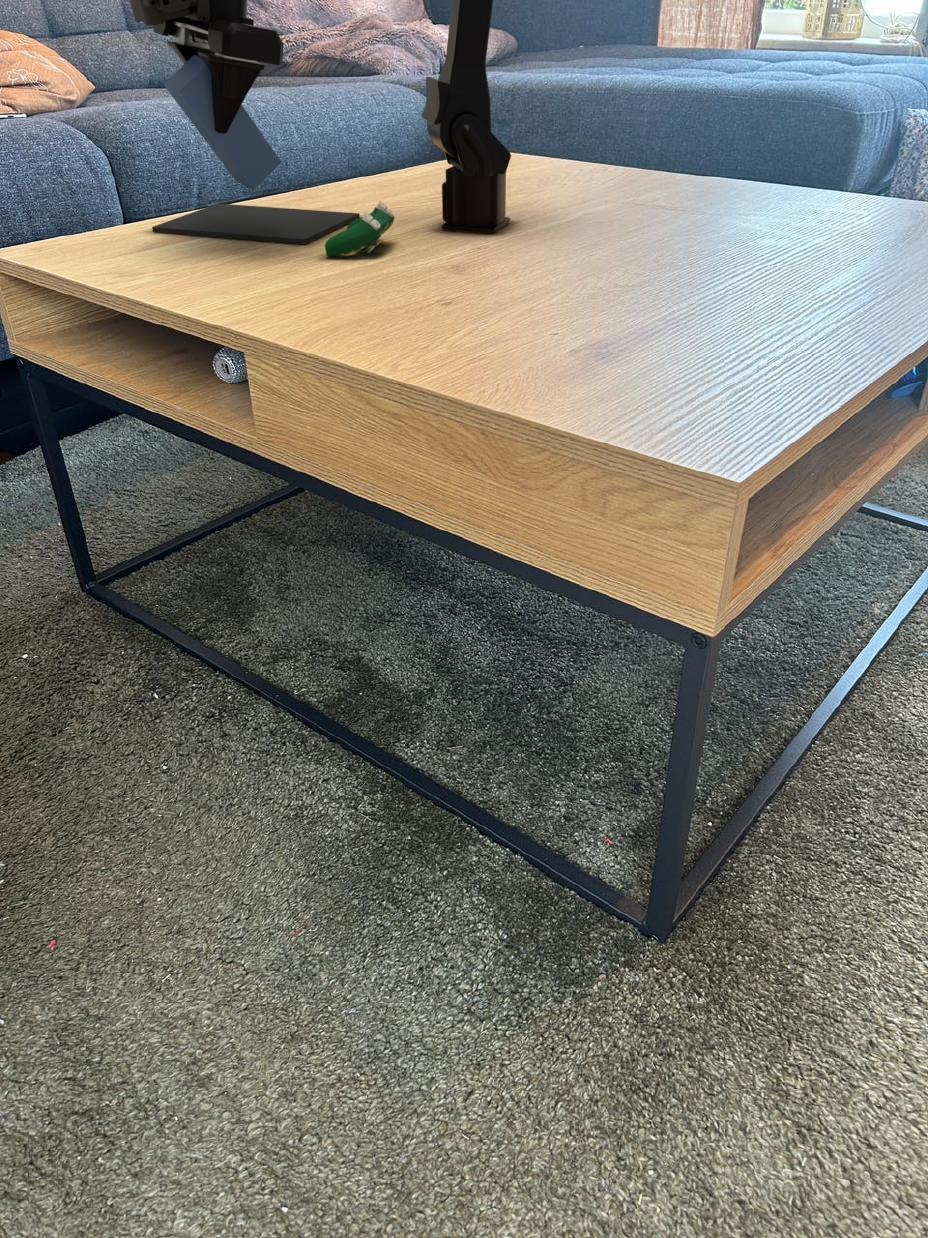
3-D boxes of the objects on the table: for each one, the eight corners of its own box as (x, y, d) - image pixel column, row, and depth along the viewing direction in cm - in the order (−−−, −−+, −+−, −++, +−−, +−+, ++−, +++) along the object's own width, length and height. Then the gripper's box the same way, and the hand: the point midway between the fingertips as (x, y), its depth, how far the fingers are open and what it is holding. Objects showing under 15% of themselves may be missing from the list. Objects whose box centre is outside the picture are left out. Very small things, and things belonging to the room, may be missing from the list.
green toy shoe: (345, 277, 101) (382, 236, 98) (318, 249, 100) (355, 207, 97) (369, 255, 109) (404, 217, 105) (345, 229, 107) (379, 190, 104)
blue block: (264, 153, 107) (193, 54, 97) (281, 162, 104) (211, 60, 95) (236, 181, 106) (163, 84, 97) (253, 190, 104) (179, 91, 94)
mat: (360, 218, 117) (359, 213, 116) (305, 244, 106) (304, 238, 105) (218, 208, 122) (217, 203, 122) (152, 232, 112) (151, 226, 111)
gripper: (102, -76, 93) (103, 103, 101) (173, -66, 81) (169, 136, 89) (211, -50, 100) (204, 116, 108) (292, -37, 88) (278, 149, 96)
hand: (211, 128), depth 100 cm, fingers closed on blue block, 4 cm apart
